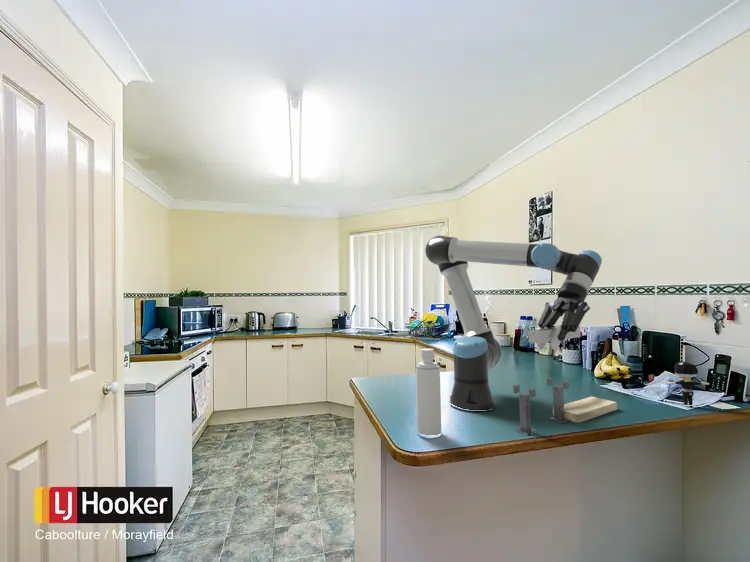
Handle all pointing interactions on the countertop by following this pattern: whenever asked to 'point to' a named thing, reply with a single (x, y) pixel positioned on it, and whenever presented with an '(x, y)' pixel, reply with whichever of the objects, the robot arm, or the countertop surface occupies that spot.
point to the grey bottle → (428, 394)
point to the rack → (525, 406)
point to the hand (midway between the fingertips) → (546, 347)
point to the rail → (549, 334)
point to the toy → (686, 379)
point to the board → (587, 408)
